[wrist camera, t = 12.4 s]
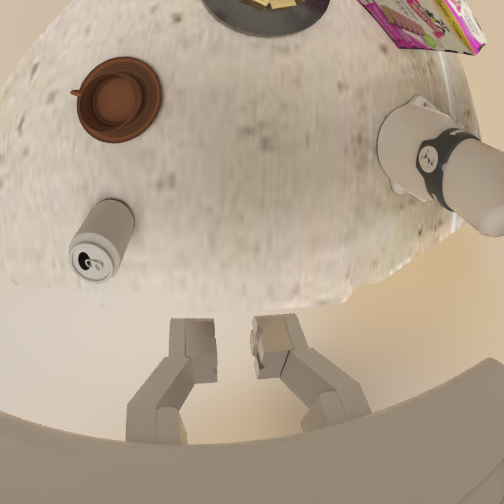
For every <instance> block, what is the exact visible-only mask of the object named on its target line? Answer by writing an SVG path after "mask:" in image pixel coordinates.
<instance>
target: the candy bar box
mask: <svg viewBox="0 0 504 504" xmlns="http://www.w3.org/2000/svg"><path fill="white" fill-rule="evenodd" d="M358 1H359V2H360V3H361V4H362V5H363V6H364V7H365V8H366V9H367V10H368V11H369V12H370V13H371V15H372V16H373V17H374V18H375V19H376V20H377V21H378V23H379V24H380V25H381V26H382V27H383V29H384V30H385V31H386V32H387V34H388V35H389V36H390V37H391V39H392V40H393V41H394V43H395V44H396V45H397V47H398V48H399V49H423V50H437V51H445V52H453V53H461V54H467V55H473V56H476V55H477V54H478V52H479V51H480V50H481V48H482V47H483V46H484V45H485V44H486V42H487V40H486V38H485V36H484V34H483V32H482V30H481V28H480V26H479V24H478V23H477V21H476V19H475V17H474V15H473V14H472V12H471V10H470V8H469V7H468V5H467V3H466V2H465V0H358Z"/></svg>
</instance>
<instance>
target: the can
mask: <svg viewBox="0 0 504 504" xmlns="http://www.w3.org/2000/svg"><path fill="white" fill-rule="evenodd" d="M133 228H134V218H133V216H132V213H131V211H130V210H129V209H128V208H127V206H125V205H124V204H122V203H121V202H118V201H115V200H104V201H101V202H99V203H98V204H97V205H96V206H95V207H94V208H93V209H92V211H91V212H90V214H89V215H88V217H87V218H86V219H85V221H84V222H83V224H82V225H81V227H80V228H79V230H78V231H77V233H76V234H75V236H74V238H73V239H72V241H71V243H70V245H69V262H70V266H71V268H72V270H73V271H74V273H75V274H76V275H77V276H78V277H79V278H81V279H82V280H84V281H86V282H89V283H94V284H100V283H104V282H106V281H107V280H109V279H110V278H111V277H113V276H114V275H115V274H116V273H117V272H118V270H119V268H120V265H121V262H122V259H123V256H124V253H125V250H126V248H127V245H128V242H129V240H130V237H131V234H132V232H133Z"/></svg>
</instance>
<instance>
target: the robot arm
mask: <svg viewBox="0 0 504 504" xmlns="http://www.w3.org/2000/svg"><path fill="white" fill-rule="evenodd" d="M423 105H424V106H423ZM463 129H464V124H463V123H461V122H459V121H458V120H455V118H453V117H452V116H448V115H446V114H444V113H442V112H441V111H440V110H439V109H438V108H436V107H435V106H434V105H433V104H432V103H430V102H429V101H428V100H427V99H425V98H424V97H422V96H420V95H416V96H414V97H413V98H412V99H411V100H410V102H409V103H408V104H406V105H404V106H401V107H399V108H397V109H395V110H394V111H393V112H392V113H391V114H390V115H389V116H388V117H387V118H386V120H385V121H384V123H383V125H382V127H381V130H380V133H379V137H378V157H379V161H380V164H381V166H382V168H383V170H384V172H385V173H386V174H387V176H388V177H389V179H390V182H391V187H392V190H393V191H394V192H395V193H397V194H407V193H410V194H412V195H413V196H415V197H416V198H418V199H419V200H421V201H423V202H426V201H433V200H435V201H436V202H437V203H438V204H439V205H441V206H442V207H444V208H446V209H448V210H449V211H452V212H456V213H457V214H458V215H459V216H461V217H462V218H463V219H464V220H466V221H467V222H468V223H469V224H470V225H472V226H473V227H474V228H475V229H476V230H477V231H479V232H480V233H481V234H483V235H485V236H489V237H500V236H503V235H504V152H502V151H500V150H498V149H495V148H493V147H491V146H489V145H487V144H484V143H482V142H481V141H480V140H479V139H478V138H477V137H476V136H474V135H472V134H471V133H469V132H467V131H464V130H463ZM252 324H253V330H252V331H251V336H250V344H251V351H252V355H253V356H255V357H256V358H255V363H254V366H255V370H256V375H257V379H267V378H278V377H280V379H281V380H282V381H283V382H284V383H285V384H286V385H287V387H288V388H289V389H291V391H292V392H293V393H294V394H295V395H296V396H297V397H298V398H299V399H300V400H301V401H302V402H303V403H304V404H305V405H306V406H307V407H308V408H309V409H310V410H309V411H308V412H307V414H306V415H305V416H304V418H303V419H302V420H301V426H302V429H303V432H302V433H298V434H292V435H287V436H281V437H275V438H269V439H261V440H253V441H244V442H234V443H221V444H197V445H188V443H187V433H186V431H185V428H184V425H183V422H182V420H181V417H180V414H179V410H180V408H181V407H182V405H183V403H184V401H185V400H186V398H187V396H188V395H189V393H190V391H191V390H192V388H193V386H194V384H196V383H213V382H217V348H216V339H215V327H214V319H195V318H192V319H191V318H190V319H189V318H186V319H180V318H178V319H177V318H175V319H174V318H171V321H170V335H169V336H170V337H169V357H165V358H164V359H163V360H162V361H161V362H160V364H159V365H158V366H157V367H156V369H155V370H154V371H153V373H152V374H151V375H150V376H149V378H148V379H147V380H146V381H145V383H144V384H143V385H142V386H141V388H140V389H139V390H138V392H137V393H136V394H135V396H134V397H133V398H132V399H131V400H130V402H129V403H128V404H127V419H126V441H118V440H110V439H103V438H97V437H91V436H85V435H81V434H76V433H71V432H67V431H62V430H58V429H55V428H51V427H47V426H44V425H40V424H37V423H33V422H30V421H27V420H24V419H21V418H19V417H16V416H13V415H10V414H8V413H5V412H3V411H0V504H504V365H503V364H501V363H500V362H498V361H497V360H495V359H493V358H487V359H485V360H483V361H482V362H480V363H478V364H477V365H475V366H473V367H472V368H470V369H468V370H467V371H465V372H463V373H461V374H460V375H458V376H456V377H454V378H453V379H450V380H449V381H447V382H445V383H443V384H441V385H439V386H437V387H435V388H433V389H431V390H429V391H426V392H424V393H422V394H420V395H418V396H416V397H413V398H411V399H408V400H406V401H404V402H401V403H399V404H396V405H394V406H391V407H388V408H386V409H383V410H380V411H377V412H375V413H371V410H370V408H369V405H368V403H367V400H366V398H365V396H364V393H363V391H362V389H361V386H360V384H359V383H358V382H357V381H355V380H354V379H353V378H351V377H350V376H349V375H347V374H346V373H345V372H343V371H342V370H341V369H339V368H338V367H337V366H335V365H334V364H333V363H332V362H330V361H329V360H328V359H326V358H325V357H324V356H322V355H321V354H320V353H318V352H317V351H316V350H315V349H314V348H309V347H308V345H307V342H306V339H305V337H304V334H303V331H302V329H301V326H300V324H299V321H298V318H297V316H296V315H295V313H293V314H281V315H280V314H278V315H265V316H254V318H253V323H252Z"/></svg>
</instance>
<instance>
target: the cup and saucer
mask: <svg viewBox="0 0 504 504" xmlns="http://www.w3.org/2000/svg"><path fill="white" fill-rule="evenodd" d="M70 93H71V94H72V95H75V96H78V97H77V113H78V117H79V120H80V122H81V124H82V126H83V128H84V129H85V130H86V131H87V133H88V134H90V135H91V136H92V137H94V138H95V139H97V140H99V141H102V142H106V143H122V142H126V141H129V140H131V139H133V138H135V137H137V136H139V135H140V134H141V133H143V132H144V131H145V130H146V129H147V128H148V127H149V126H150V124H151V123H152V122H153V120H154V119H155V117H156V115H157V113H158V110H159V107H160V103H161V86H160V82H159V79H158V77H157V75H156V73H155V72H154V70H153V69H152V68H151V67H150V66H149V65H148V64H146V63H145V62H143V61H141V60H139V59H136V58H133V57H116V58H112V59H109V60H107V61H105V62H103V63H101V64H99V65H98V66H97V67H95V68H94V69H93V70H92V71H91V72H90V73H89V74H88V75H87V77H86V78H85V80H84V81H83V83H82V85H81V87H80V90H72V91H71V92H70Z"/></svg>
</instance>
